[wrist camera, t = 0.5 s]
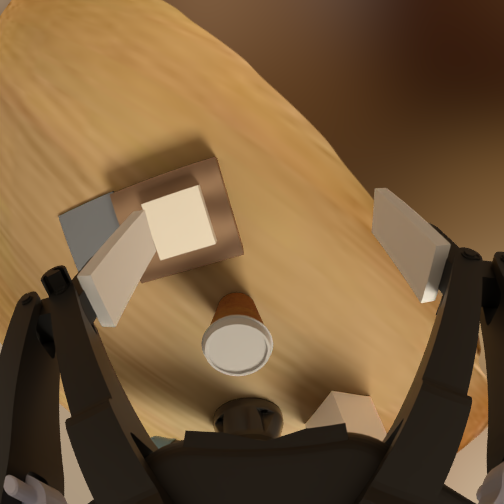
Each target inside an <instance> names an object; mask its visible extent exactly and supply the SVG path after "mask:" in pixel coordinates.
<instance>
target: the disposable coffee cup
mask: <svg viewBox="0 0 504 504" xmlns="http://www.w3.org/2000/svg"><path fill="white" fill-rule="evenodd" d="M202 350H203V353H204V355H205V357H206V359H207V361H208V362H209V364H210V365H211V366H212V367H213V368H215V369H216V370H217V371H219V372H221V373H224V374H226V375H231V376H244V375H249V374H252V373H254V372H256V371H258V370H259V369H261V368H262V367H263V366H264V365H265V364H266V362H267V361H268V359H269V357H270V355H271V353H272V350H273V339H272V336H271V334H270V332H269V330H268V329H267V328H266V327H265V325H264V324H263V322H262V319H261V317H260V315H259V313H258V310H257V308H256V306H255V304H254V302H253V300H252V299H251V298H250V297H249V296H247V295H245V294H243V293H230V294H228V295H226V296H224V297H223V298H222V299H221V301H220V302H219V304H218V307H217V310H216V312H215V315H214V317H213V320H212V322H211V325H210V326H209V327H208V328H207V330H206V331H205V333H204V335H203V338H202Z"/></svg>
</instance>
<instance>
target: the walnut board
mask: <svg viewBox="0 0 504 504" xmlns="http://www.w3.org/2000/svg"><path fill="white" fill-rule="evenodd" d="M197 185H200V188H201V191H202V194H203V198H204V201H205V204H206V207H207V211H208V214H209V217H210V220H211V224H212V227H213V230H214V233H215V236H216V239H217V242H216V244H214V245H211V246H208V247H204V248H201V249H197V250H194V251H190V252H187V253H184V254H180V255H177V256H174V257H170V258H167V259H164V260H160V258H159V255H158V252H157V250H156V252H155V254H154V256H153V258H152V259H151V261H150V263H149V265H148V266H147V268H146V270H145V272H144V274H143V275H142V277H141V279H140V281H141V283H145V282H148V281H152V280H155V279H159V278H163V277H166V276H170V275H173V274H177V273H180V272H184V271H187V270H191V269H194V268H198V267H201V266H205V265H208V264H212V263H216V262H219V261H223V260H226V259H230V258H233V257H237V256H240V255H244V252H243V245H242V242H241V238H240V235H239V232H238V228H237V225H236V222H235V218H234V215H233V211H232V208H231V205H230V201H229V198H228V194H227V191H226V188H225V184H224V181H223V177H222V174H221V171H220V167H219V164H218V160H217V158H216V157H212V158H209V159H206V160H203V161H199V162H196V163H193V164H190V165H187V166H184V167H181V168H178V169H175V170H172V171H169V172H167V173H164V174H161V175H158V176H155V177H153V178H150V179H147V180H145V181H142V182H139V183H137V184H134V185H132V186H129V187H127V188H124V189H122V190H119V191H117V192H114V193H112V194H110V198H111V201H112V204H113V207H114V210H115V213H116V216H117V219H118V222H119V225H121V224H122V223H123V222H124V221H125V220H126V219H127V218H128V217H129V216H130V215H131V213H132V212H134V211H140V210H143V209H142V206H141V204H144V203H146V202H149V201H152V200H155V199H158V198H161V197H163V196H166V195H169V194H172V193H175V192H178V191H181V190H184V189H187V188H190V187H193V186H197ZM153 242H154V241H153ZM154 245H155V244H154ZM155 249H156V247H155Z"/></svg>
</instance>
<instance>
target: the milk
mask: <svg viewBox="0 0 504 504" xmlns="http://www.w3.org/2000/svg"><path fill="white" fill-rule="evenodd" d="M341 423H346V429H347V432H353V433H360V434H364V435H368V436H371V437H374V438H376V439H379V440H380V441H383V440H384V438H385V437H386V435H387V434H386V431H385V429H384V427H383V424H382V422H381V420H380V417H379V415H378V413H377V410H376V408H375V406H374V404H373V401H372V399H371V397H370V396H363V395H356V394H349V393H343V392H337V391H331V392H330V394H329V395H328V396H327V397H326V399H325V400H324V401H323V403H322V404H321V405H320V406H319V408H318V409H317V410H316V411H315V413H314V414H313V415H312V416H311V417H310V419H309V420H308V421H307V422H306V423H305V426H306V428H314V427H322V426H329V425H335V424H341Z"/></svg>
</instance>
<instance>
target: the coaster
mask: <svg viewBox="0 0 504 504" xmlns="http://www.w3.org/2000/svg"><path fill="white" fill-rule="evenodd" d="M141 206H142V209H143V210H145V213H146V217H147V220H148V224H149V228H150V231H151V235H152V238H153V241H154V244H155V247H156V250H157V252H158V255H159V258H160V260H164V259H167V258H170V257H174V256H177V255H180V254H184V253H187V252H190V251H194V250H197V249H201V248H204V247H208V246H211V245H214V244H216V242H217V239H216V236H215V233H214V230H213V227H212V224H211V220H210V217H209V214H208V211H207V207H206V204H205V201H204V198H203V194H202V191H201V188H200V185H197V186H193V187H190V188H187V189H184V190H181V191H178V192H175V193H172V194H169V195H166V196H163V197H161V198H158V199H155V200H152V201H149V202H146V203H144V204H141Z"/></svg>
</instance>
